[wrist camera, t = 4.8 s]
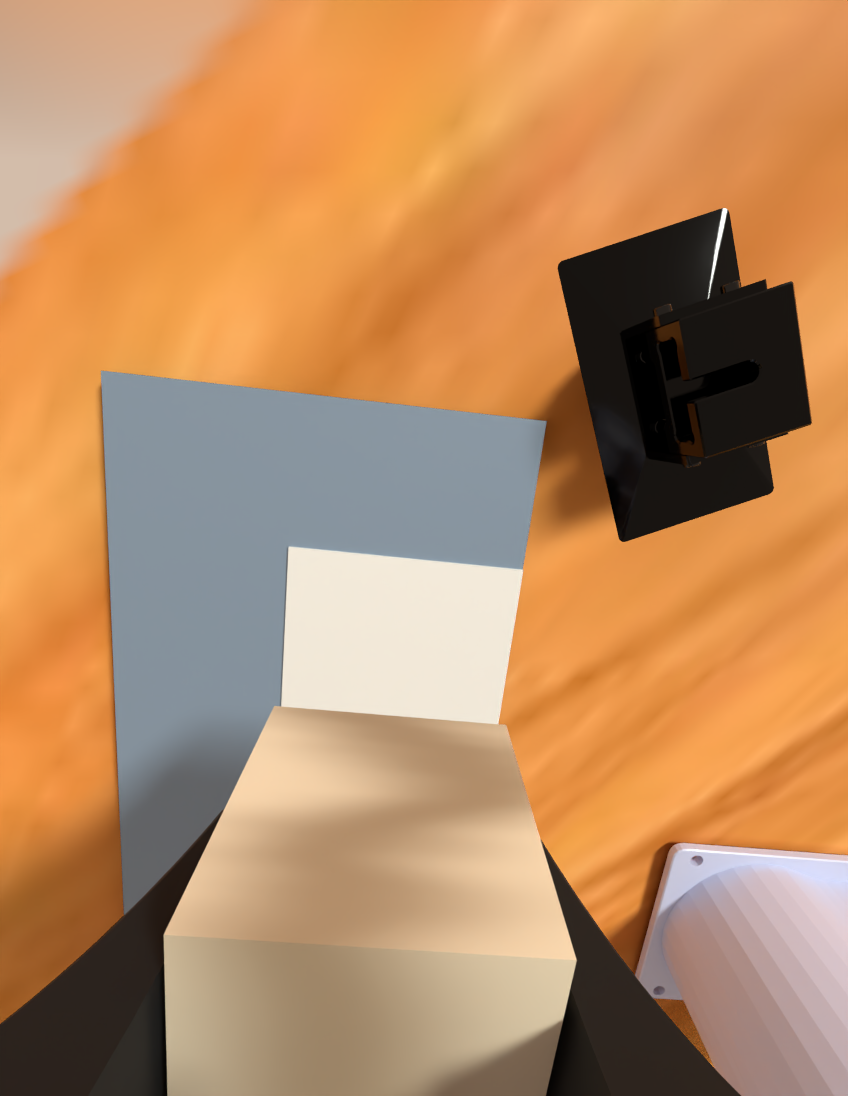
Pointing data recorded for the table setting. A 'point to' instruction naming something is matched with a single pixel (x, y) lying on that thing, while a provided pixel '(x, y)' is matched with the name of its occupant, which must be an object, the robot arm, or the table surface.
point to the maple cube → (369, 920)
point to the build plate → (683, 371)
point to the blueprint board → (295, 579)
